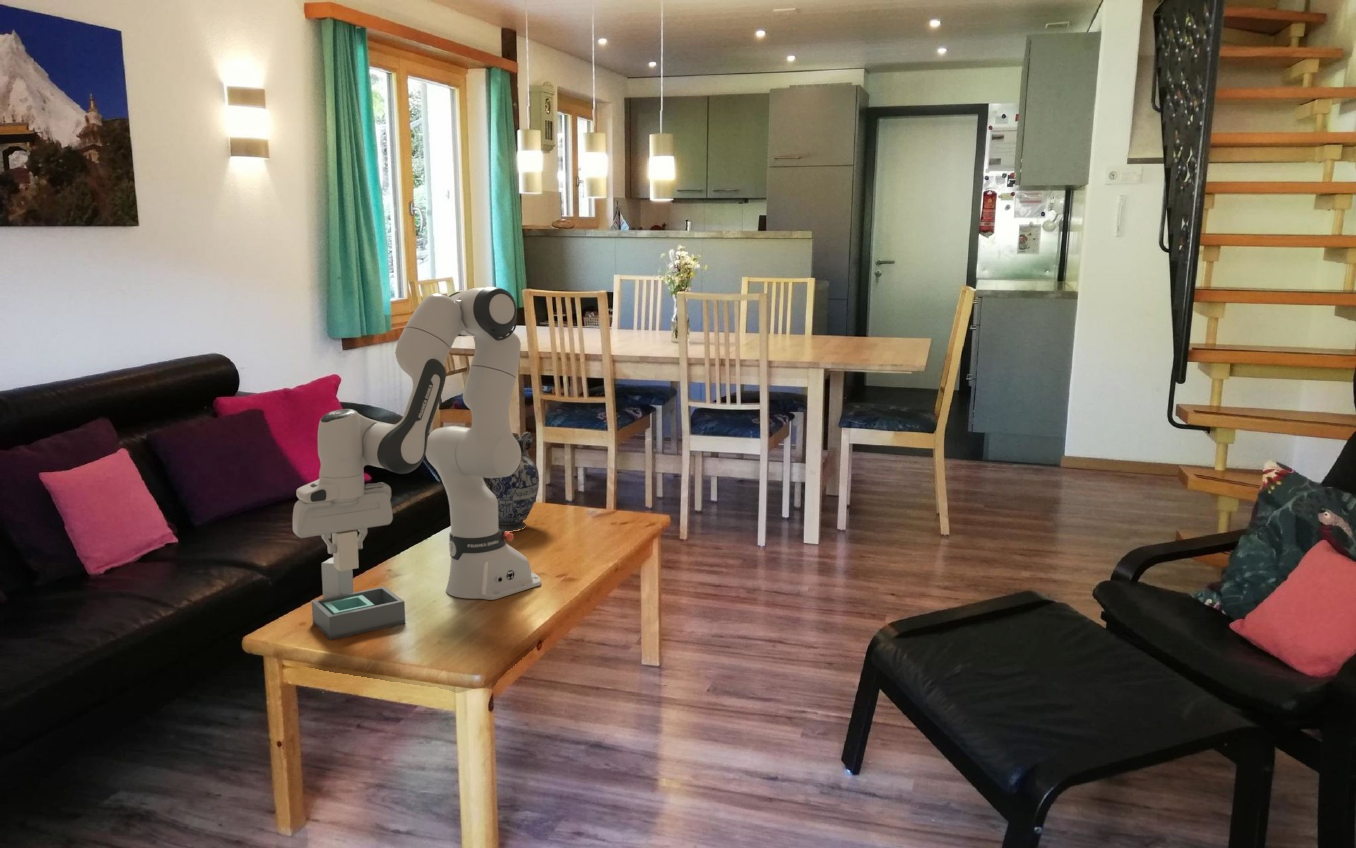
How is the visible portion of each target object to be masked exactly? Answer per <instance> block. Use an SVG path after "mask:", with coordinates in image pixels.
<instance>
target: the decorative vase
mask: <svg viewBox="0 0 1356 848" xmlns="http://www.w3.org/2000/svg"><path fill="white" fill-rule="evenodd" d="M512 434H513V436H514V437H515V439H516V440H517V442H518V443H519V446H520V449H521V460H520V464H519V466H518V468H517V469H516V471H515V472H514V473H513V474H512V475H510V476H508V477H501V478H485V477H483V480H484V482H485V484H486V486H487V487H488V488H489V490H490V491H491V492H492V493H493V494H494V495H495V496H496V498H497V501H498V527H499V529H500V530H503V531H513V530H518V529H522V528H524V527H525V526H526V527H527V523H526V522H524V521H526V520H527V518H528V517H529V515H530V513H531V511H532V509H533V507H534V504H535V502H536V500H537V498H538V497H537V496H538V493H539V486H540V475H539V469H538V467H537V465H536V464H535V462H534V461H533V460H532V459H531V456H530V454H529V452H528V450H530V448H531V447H532V445H533V436H532V434H531V432H529V431H524V432H523V433H522V434H521V435H519V433H516V432H512Z"/></svg>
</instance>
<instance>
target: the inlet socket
mask: <svg viewBox="0 0 1356 848" xmlns="http://www.w3.org/2000/svg"><path fill="white" fill-rule="evenodd" d="M323 605H324V607H325V608H326V609H327V610H328V611H329V612H330V613H331V614H332V615H334V614H339V613H343V612H348V611H353V610H357V609H362V608H367V607H372V606H374V604H373V603H371V602H370V601H369V600H368V599H366V598H365V597H364V596H363V595H360V596H355V597H350V598H345V599H341V600H336V601H331V602H326V603H323Z"/></svg>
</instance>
